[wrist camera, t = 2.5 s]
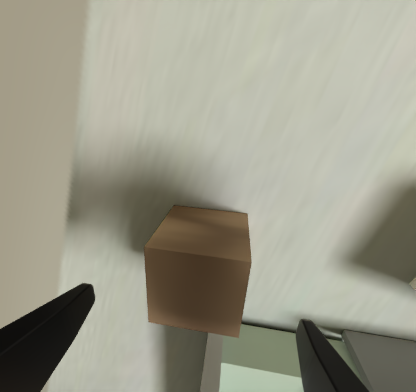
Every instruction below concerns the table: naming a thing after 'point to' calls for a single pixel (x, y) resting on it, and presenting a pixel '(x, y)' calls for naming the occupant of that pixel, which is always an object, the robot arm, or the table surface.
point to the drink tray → (257, 361)
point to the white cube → (413, 283)
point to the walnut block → (199, 270)
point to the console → (383, 361)
